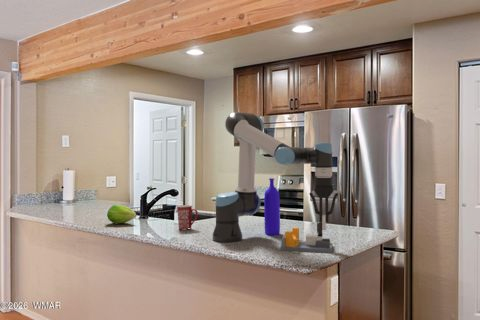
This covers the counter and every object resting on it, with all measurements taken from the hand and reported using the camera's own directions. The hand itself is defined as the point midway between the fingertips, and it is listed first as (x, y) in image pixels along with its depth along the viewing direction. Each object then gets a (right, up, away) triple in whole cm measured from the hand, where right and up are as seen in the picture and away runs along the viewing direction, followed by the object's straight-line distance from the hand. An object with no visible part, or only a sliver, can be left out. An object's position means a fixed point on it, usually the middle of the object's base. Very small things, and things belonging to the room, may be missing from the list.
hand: (324, 229), depth 175 cm
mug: (-68, -9, +53) cm, 87 cm away
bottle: (-20, -9, +36) cm, 42 cm away
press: (-7, -9, +2) cm, 11 cm away
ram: (-4, -7, +1) cm, 8 cm away
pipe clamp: (-13, -8, +4) cm, 15 cm away
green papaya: (-113, -10, +74) cm, 135 cm away
